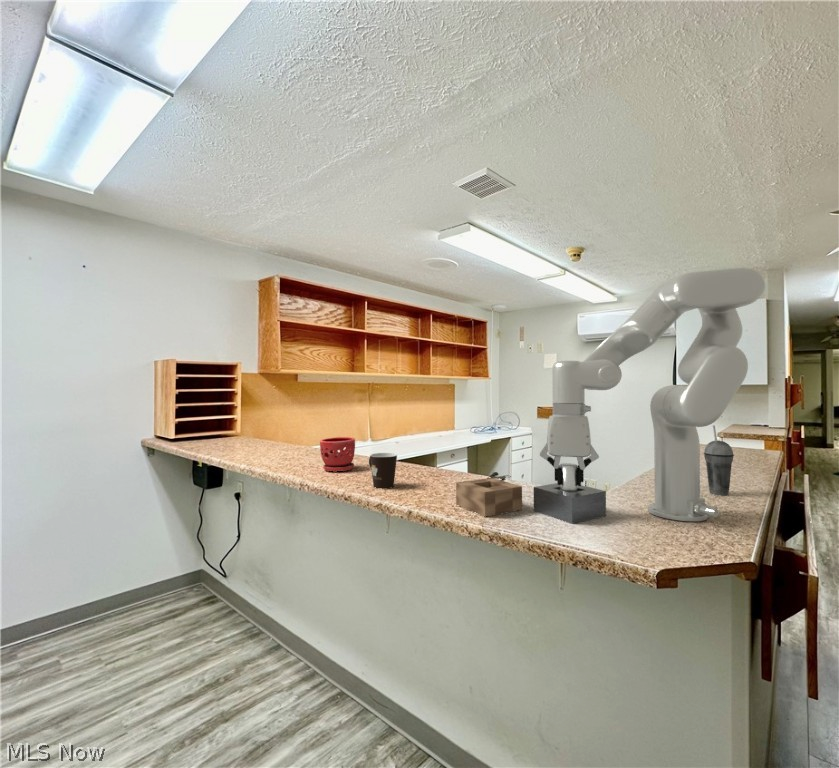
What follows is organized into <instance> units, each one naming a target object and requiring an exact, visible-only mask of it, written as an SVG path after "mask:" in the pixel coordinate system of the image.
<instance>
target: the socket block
mask: <svg viewBox="0 0 839 768" xmlns="http://www.w3.org/2000/svg"><path fill="white" fill-rule="evenodd" d="M533 511H534V512H536V513H539V514H542V515H545V516H548V517H550V518H553V517H554V519H556V518H557V520H559V519H560V521H562V520H563V522H565V521H566V523H568V522H569V524H573V525H574V524H577V523H581V522H586V521H591V520H594V518H595V519H599V518H602V516H603V517H607V491H606V490H604V489H599V488H594V487H590V486H586V485H582V484H581V486H578V491H577V492H572V493H569V492H565V491H562V490H560V485H558V483H557V482H555V483H549V484H544V485H537V486H533ZM598 517H599V518H598ZM590 519H591V520H590Z"/></svg>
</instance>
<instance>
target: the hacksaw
mask: <svg viewBox="0 0 839 768" xmlns="http://www.w3.org/2000/svg"><path fill="white" fill-rule="evenodd" d="M489 477H491V478H494V479H503V481H504V480H505V479H506V478H507V477H508V479H509V478H511V477H512V475H508V474H507V475H502V476H499V473H498V472H497V471H494V472H492V473H491V474H490V475H489V476H488V478H489ZM501 481H502V480H501Z"/></svg>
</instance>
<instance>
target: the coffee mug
mask: <svg viewBox="0 0 839 768" xmlns="http://www.w3.org/2000/svg"><path fill="white" fill-rule="evenodd" d="M397 457H398V454H397V453H392V452H375V453H371V454H370V455H369V458H368V465H369V467H370V469H371V478H372V483H373V484H372V486H373V488H374V487H376V488H375V489H378V488H388V489H391V488H390V487H392V488H393V486H395V478H396V477H395V475H396V470H397V469H396V467H397V459H398V458H397Z"/></svg>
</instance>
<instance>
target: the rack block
mask: <svg viewBox="0 0 839 768" xmlns="http://www.w3.org/2000/svg"><path fill="white" fill-rule="evenodd" d="M455 485H456V486H455V489H456V490H455V491H456V492H455V493H456V495H455V496H456V497H455V501H456V506H457V505H459V506H461V507H460V508H462V507H463V508H462V509H464V508H466V509H468V510H467V511H469V510H471V511H473V512H472V513H474V512H476V513H478V514H480V515H479V516H481V515H482V516H481V517H483V516H485V517H484V518H487V517H486V516H489V517H493V516H492V515H494V516H497V514H499V515H502V514H501V513H504V514H507V513H506V512H509V513H512V512H511V511H514V512H518V511H517V510H519V511H523V485H520V484H519V485H518V484H515V483H511V482H509V481H504V480H503V481H501V480H499V478H489V477H486V478H481V479H474V480H473V479H472V480H466V481H465V480H464V481H458V482H455ZM459 506H458V507H459ZM466 509H465V510H466ZM471 511H470V512H471ZM476 513H475V514H476ZM478 514H477V515H478Z"/></svg>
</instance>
